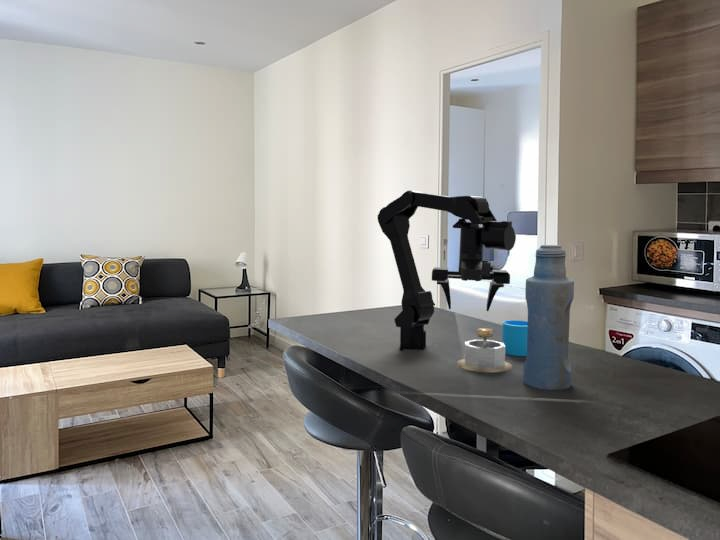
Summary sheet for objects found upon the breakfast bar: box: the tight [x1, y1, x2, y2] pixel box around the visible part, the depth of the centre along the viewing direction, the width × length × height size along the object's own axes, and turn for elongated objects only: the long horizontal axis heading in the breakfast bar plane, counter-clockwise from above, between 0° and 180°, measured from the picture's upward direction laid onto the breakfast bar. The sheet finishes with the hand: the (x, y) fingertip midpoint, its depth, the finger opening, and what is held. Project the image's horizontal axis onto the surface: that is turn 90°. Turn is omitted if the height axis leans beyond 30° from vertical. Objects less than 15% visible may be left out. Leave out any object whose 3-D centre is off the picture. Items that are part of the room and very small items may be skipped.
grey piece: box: [463, 338, 506, 370], centre depth 136 cm, size 9×12×5 cm
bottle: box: [522, 244, 575, 391], centre depth 119 cm, size 10×10×30 cm
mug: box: [501, 319, 528, 357], centre depth 149 cm, size 12×8×8 cm
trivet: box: [456, 358, 513, 373], centre depth 134 cm, size 13×13×1 cm
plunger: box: [477, 327, 494, 348], centre depth 134 cm, size 6×6×7 cm
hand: (468, 309), depth 140 cm, fingers open, 9 cm apart
